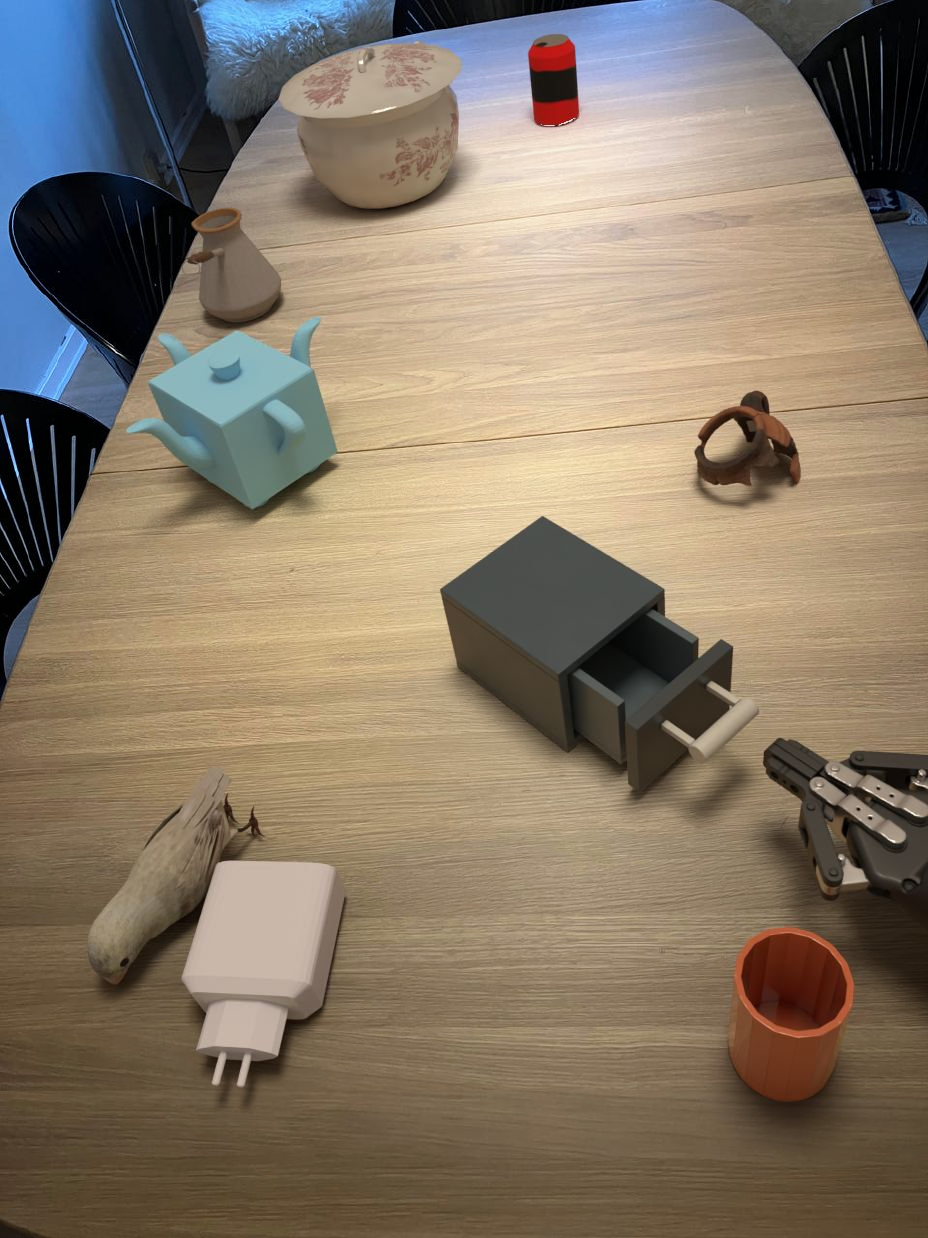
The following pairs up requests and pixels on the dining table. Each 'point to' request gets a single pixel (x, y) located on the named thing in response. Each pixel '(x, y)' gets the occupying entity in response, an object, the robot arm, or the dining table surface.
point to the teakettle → (242, 413)
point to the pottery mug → (757, 432)
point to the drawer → (657, 698)
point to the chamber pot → (378, 121)
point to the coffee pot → (232, 269)
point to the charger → (261, 955)
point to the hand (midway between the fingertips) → (770, 750)
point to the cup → (788, 1012)
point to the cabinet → (541, 619)
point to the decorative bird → (165, 876)
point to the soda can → (553, 79)
